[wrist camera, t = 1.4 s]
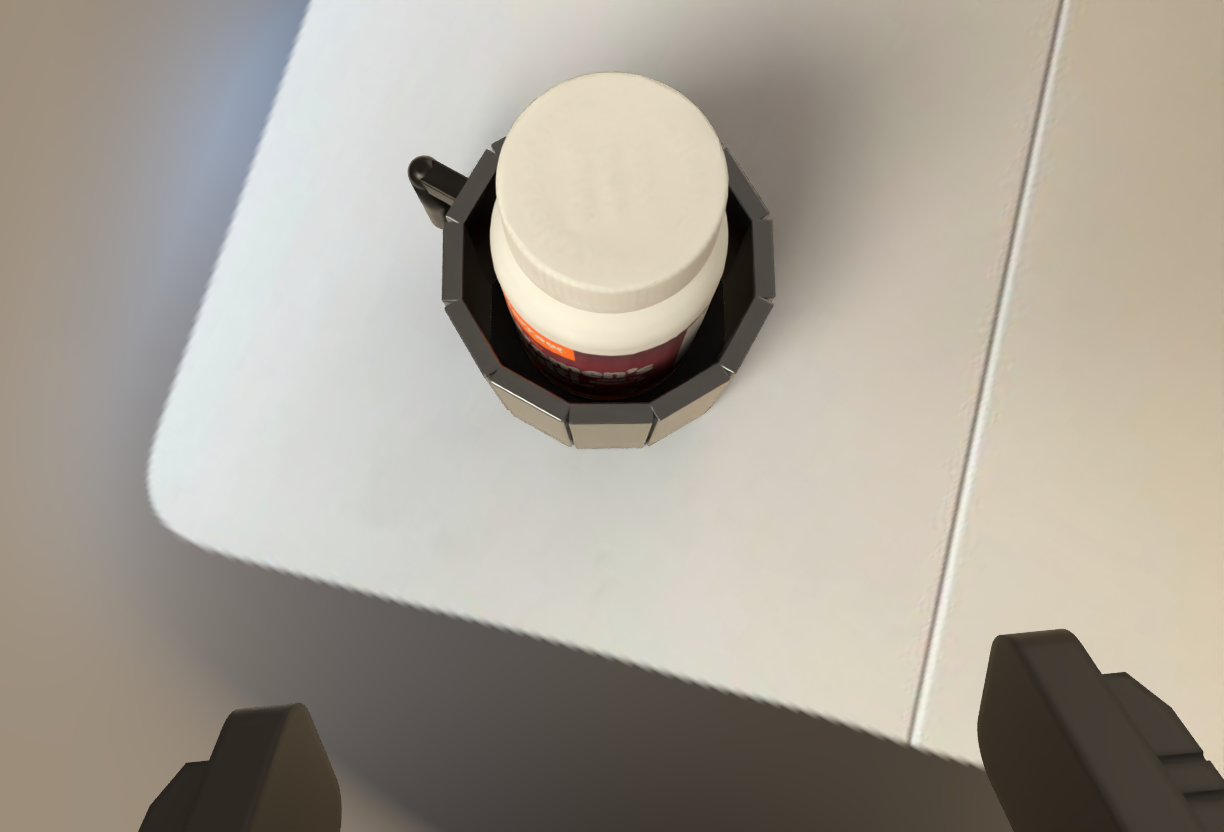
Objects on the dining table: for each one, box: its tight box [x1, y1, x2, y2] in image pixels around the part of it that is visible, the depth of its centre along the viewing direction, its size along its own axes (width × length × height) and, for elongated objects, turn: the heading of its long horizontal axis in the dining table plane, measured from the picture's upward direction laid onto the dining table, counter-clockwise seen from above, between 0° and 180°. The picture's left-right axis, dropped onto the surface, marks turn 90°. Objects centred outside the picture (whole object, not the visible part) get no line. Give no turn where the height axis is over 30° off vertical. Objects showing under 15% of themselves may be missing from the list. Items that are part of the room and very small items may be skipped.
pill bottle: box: [490, 72, 729, 401], centre depth 25 cm, size 6×6×11 cm
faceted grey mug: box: [408, 136, 775, 449], centre depth 27 cm, size 11×9×6 cm
